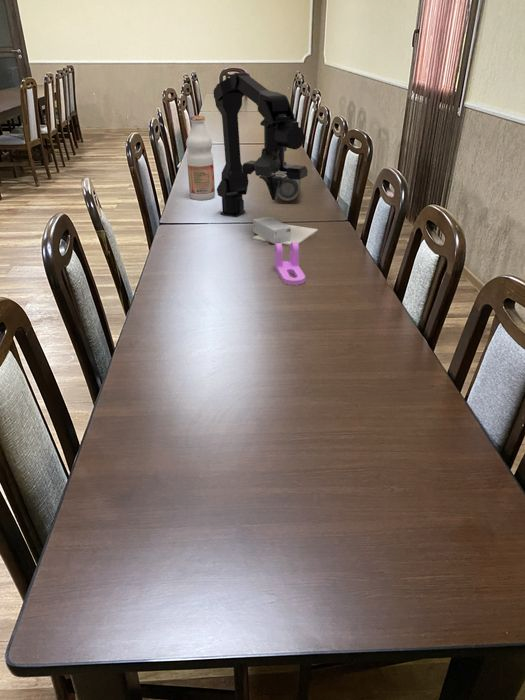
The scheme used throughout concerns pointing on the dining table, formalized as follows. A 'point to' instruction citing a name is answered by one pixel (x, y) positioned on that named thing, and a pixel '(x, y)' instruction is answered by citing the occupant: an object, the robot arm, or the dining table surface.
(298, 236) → the rubber mat
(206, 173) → the fruit juice
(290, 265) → the bracket
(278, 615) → the dining table surface
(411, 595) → the dining table surface
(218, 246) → the dining table surface
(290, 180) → the bluetooth speaker
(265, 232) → the skincare box
